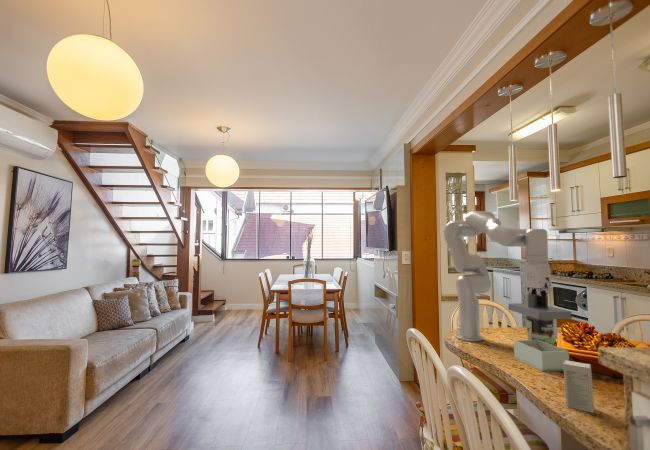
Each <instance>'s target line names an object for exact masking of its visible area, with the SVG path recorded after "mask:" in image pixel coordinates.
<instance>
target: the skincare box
mask: <svg viewBox="0 0 650 450" xmlns="http://www.w3.org/2000/svg"><path fill="white" fill-rule="evenodd" d="M563 366H564V371H563V378H564V392H565V406H566V407H568V408H572V409H575V410H579V411H580V410H581V411H583V412H588V413H594V411H595V402H594V390H593V389H594V387H593V376H592V366H591V364H590V363H584V362H578V361H572V360H569V361H567V360H565V361H564V363H563Z"/></svg>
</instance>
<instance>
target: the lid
mask: <svg viewBox="0 0 650 450" xmlns="http://www.w3.org/2000/svg"><path fill="white" fill-rule="evenodd" d="M548 295H549V294H547V297H546V307H538V306H537V296H538V293H537V294H529V293H528V295H527V302H528V303H527V302H525V303H520V302H519V303H508V311H512V312H515V313H518V314H521V315H524V316H531V317H534V318H537V319H557V320H560V319H561V320H566V319H567V320H569V319H570V320H571V319H572V317H573V316H572V311H570V310H566V309H562V308H559V307H553V306H549V302H548V299H549V298H548Z"/></svg>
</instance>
